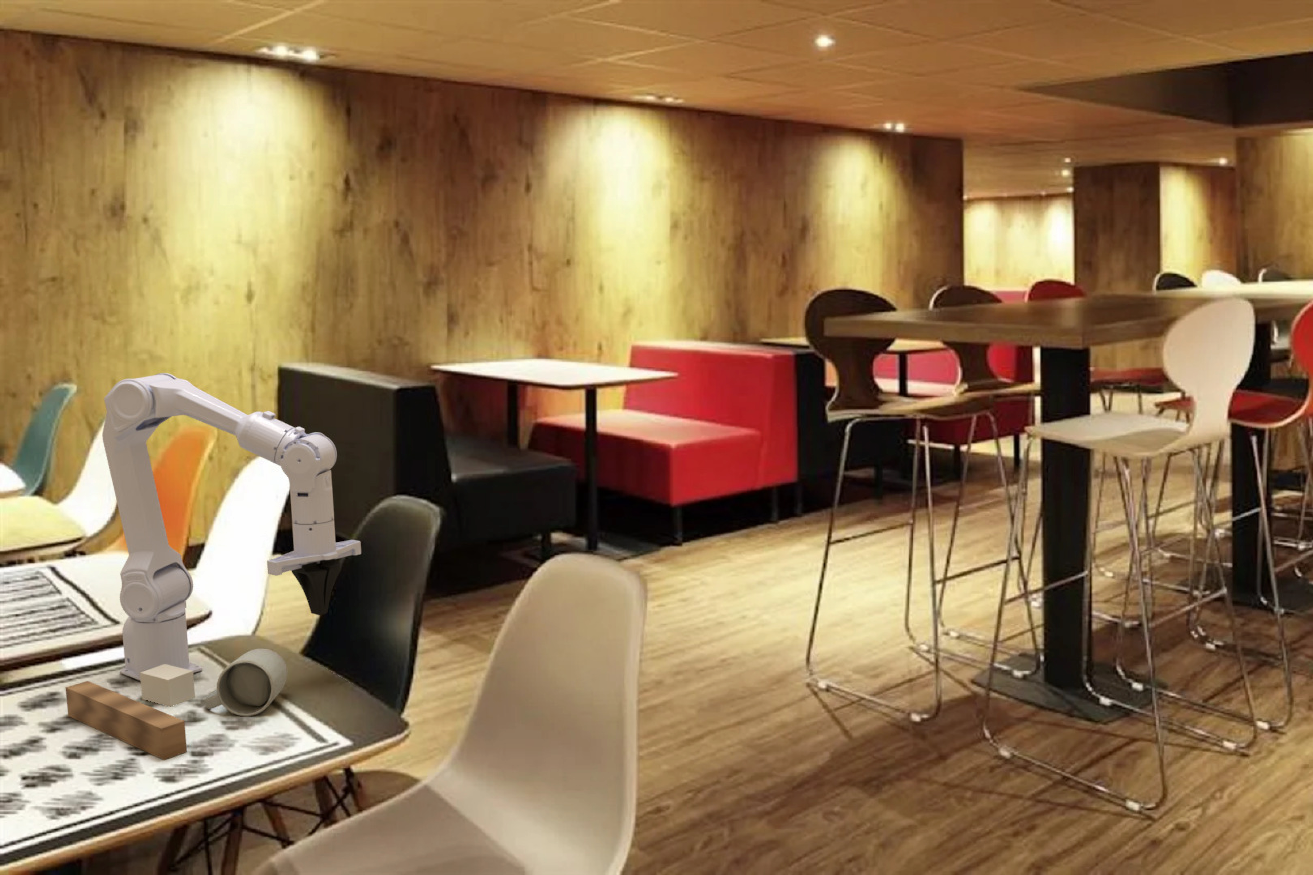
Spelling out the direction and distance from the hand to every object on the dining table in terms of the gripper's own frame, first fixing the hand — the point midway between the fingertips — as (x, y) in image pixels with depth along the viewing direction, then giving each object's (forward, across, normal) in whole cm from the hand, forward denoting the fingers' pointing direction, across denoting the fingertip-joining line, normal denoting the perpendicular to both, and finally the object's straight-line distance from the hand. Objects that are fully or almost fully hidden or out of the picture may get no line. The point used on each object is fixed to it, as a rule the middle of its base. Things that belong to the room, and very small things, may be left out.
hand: (319, 613), depth 167 cm
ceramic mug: (+10, -12, 0) cm, 16 cm away
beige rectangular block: (+10, -17, +12) cm, 23 cm away
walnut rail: (+10, -27, +5) cm, 29 cm away
